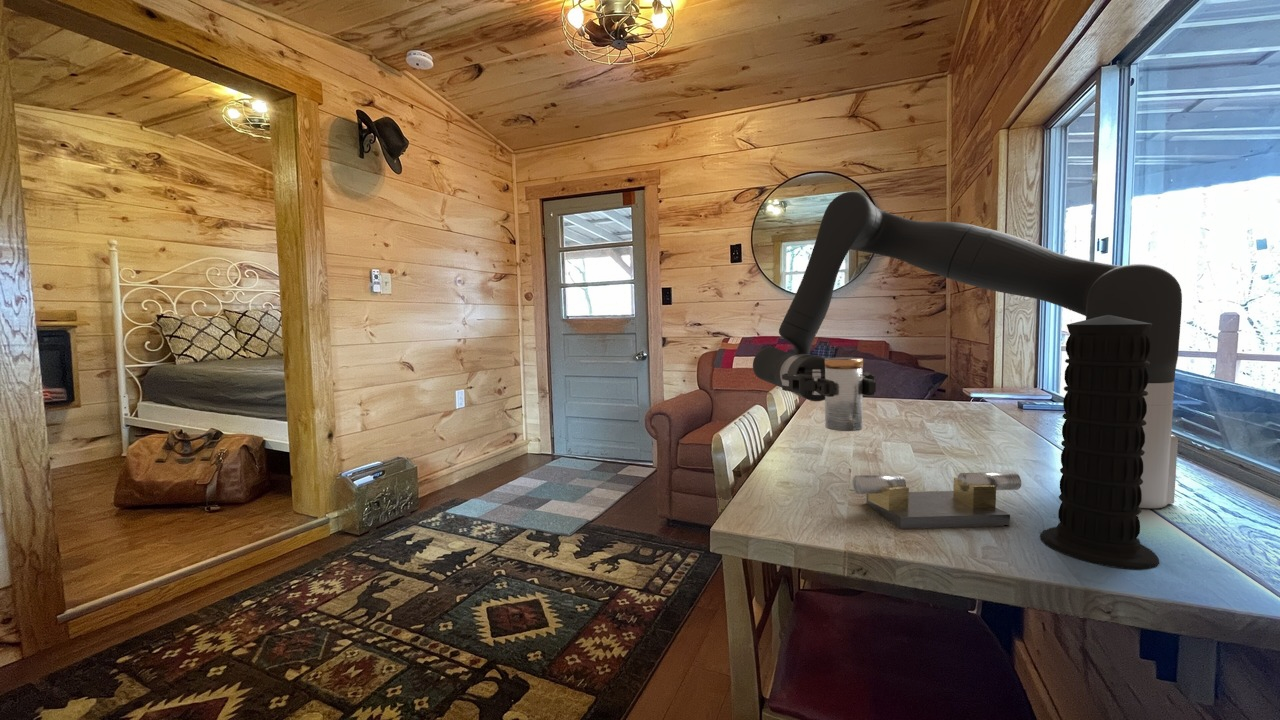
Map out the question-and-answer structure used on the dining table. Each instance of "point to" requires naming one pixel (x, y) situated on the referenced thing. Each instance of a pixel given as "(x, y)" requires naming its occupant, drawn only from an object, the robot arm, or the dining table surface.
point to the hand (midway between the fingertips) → (851, 388)
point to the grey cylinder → (844, 394)
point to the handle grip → (1103, 444)
